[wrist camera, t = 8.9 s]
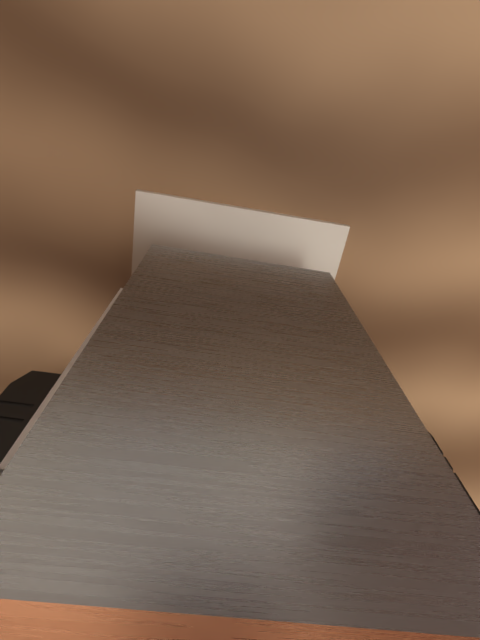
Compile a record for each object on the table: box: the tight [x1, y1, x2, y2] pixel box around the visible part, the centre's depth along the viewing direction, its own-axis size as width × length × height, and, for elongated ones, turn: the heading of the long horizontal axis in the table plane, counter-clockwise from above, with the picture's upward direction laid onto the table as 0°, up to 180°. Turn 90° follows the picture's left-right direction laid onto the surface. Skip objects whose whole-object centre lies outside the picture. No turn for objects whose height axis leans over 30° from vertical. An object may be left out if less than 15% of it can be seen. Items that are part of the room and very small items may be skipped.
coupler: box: [0, 244, 480, 640], centre depth 8 cm, size 5×5×10 cm
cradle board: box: [0, 0, 480, 511], centre depth 15 cm, size 22×28×2 cm
